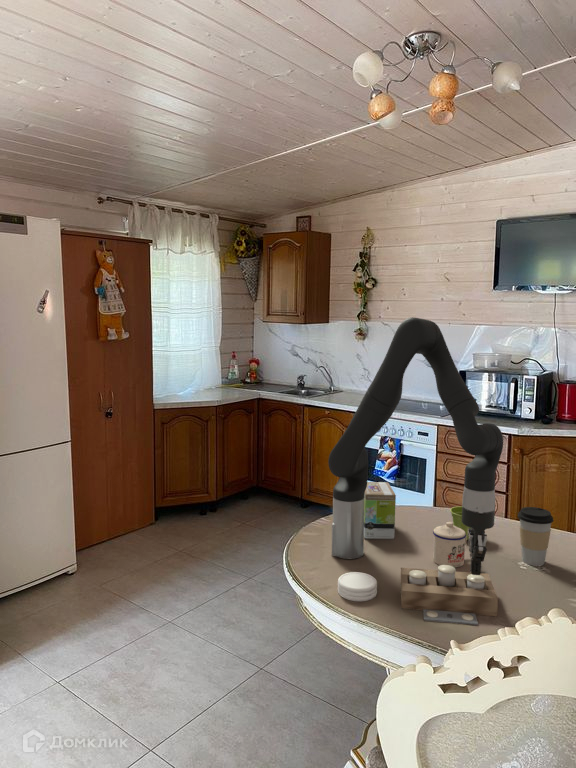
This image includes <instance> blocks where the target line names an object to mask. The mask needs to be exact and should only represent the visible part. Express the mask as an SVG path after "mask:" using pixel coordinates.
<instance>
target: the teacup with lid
mask: <svg viewBox="0 0 576 768" xmlns="http://www.w3.org/2000/svg"><path fill="white" fill-rule="evenodd" d="M432 534H433V546H432V547H433V550H432V551H433V552H432V553H433V554H432V556H433V557H432V560H433V563H435V564H437V565H438V566H440V565H450V566H453V567H454V568H455V569H456V568H458V567H459V568H460V567H462V566H463V565H464V564H465V551H466V550H465V549H466V548H465V547H466V544H467V541H468V540H467V537H466V534H465V531H464V530H462V529H460V528H458V527H456V526H454V525H453V521H447V522H445V524H442V525H438V526H436V527H434V529H433V531H432Z"/></svg>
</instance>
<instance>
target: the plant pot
mask: <svg viewBox="0 0 576 768" xmlns="http://www.w3.org/2000/svg"><path fill="white" fill-rule="evenodd" d="M449 511H450V513H451V517H452V523H453V525H454V526H456V527H458V528H460V529H462V530H464V531H465V534H466V537H467V541H469V536H468V529H469V528H470V527H467V526H465V525H464V524H463V523H462V505H461V506H460V505H459V506H453V507H451V508H450V509H449ZM470 529H471V528H470Z"/></svg>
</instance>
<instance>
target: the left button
mask: <svg viewBox="0 0 576 768" xmlns="http://www.w3.org/2000/svg"><path fill="white" fill-rule="evenodd" d="M409 575H410V577H409V584H420V585H426V573H425V572H423V571H420V570H412V571H410V572H409Z"/></svg>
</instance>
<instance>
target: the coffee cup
mask: <svg viewBox="0 0 576 768" xmlns="http://www.w3.org/2000/svg"><path fill="white" fill-rule="evenodd" d="M517 518H518V519H519V538H520V547H521V557H522V559H521V560H522V562H523V563H524V564H526V565H530V566H533V567H534V566H535V567H541V566H544V564H545V563H546V557H547V553H548V552H547V550H548V548H549V541H550V538H551V537H550V536H551V530H552V529H551V526H552V523H553V522H554V516H552V513H551V511H549V510H547V509H544V508H541V507H537V506H536V507H534V506H525V507H521V508H520V511H519V512H518V513H517Z"/></svg>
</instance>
